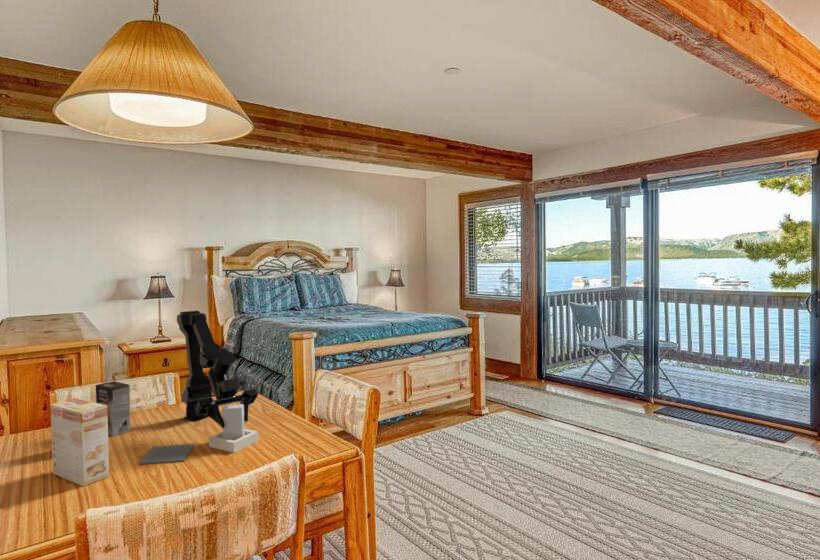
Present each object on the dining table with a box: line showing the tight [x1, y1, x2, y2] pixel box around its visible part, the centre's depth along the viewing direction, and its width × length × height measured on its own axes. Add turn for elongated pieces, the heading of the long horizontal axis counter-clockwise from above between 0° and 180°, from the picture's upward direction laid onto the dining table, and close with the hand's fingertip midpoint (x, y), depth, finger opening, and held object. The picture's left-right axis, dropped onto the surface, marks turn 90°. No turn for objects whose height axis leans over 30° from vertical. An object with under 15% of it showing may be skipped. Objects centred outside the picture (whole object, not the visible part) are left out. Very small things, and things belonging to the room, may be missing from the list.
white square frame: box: [208, 428, 260, 454], centre depth 153 cm, size 10×10×3 cm
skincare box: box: [221, 403, 246, 441], centre depth 153 cm, size 6×4×12 cm
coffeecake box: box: [50, 398, 111, 487], centre depth 131 cm, size 15×7×20 cm, turn 61°
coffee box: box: [95, 380, 131, 437], centre depth 163 cm, size 9×6×16 cm
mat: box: [138, 443, 196, 465], centre depth 145 cm, size 12×12×1 cm
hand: (235, 424), depth 152 cm, fingers closed on skincare box, 7 cm apart
